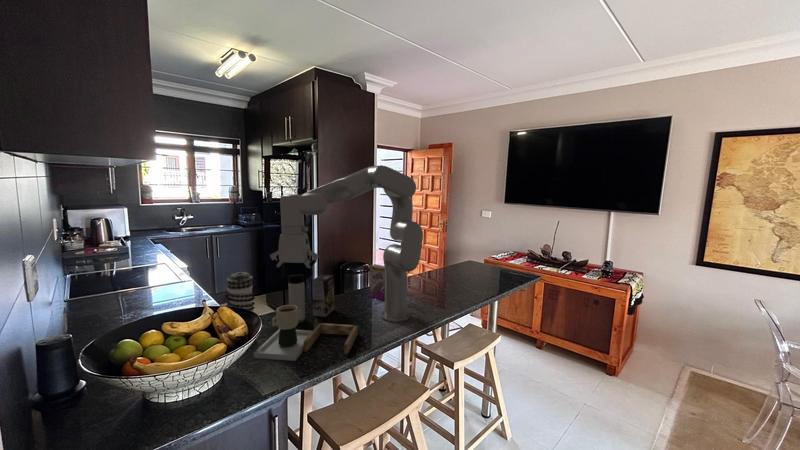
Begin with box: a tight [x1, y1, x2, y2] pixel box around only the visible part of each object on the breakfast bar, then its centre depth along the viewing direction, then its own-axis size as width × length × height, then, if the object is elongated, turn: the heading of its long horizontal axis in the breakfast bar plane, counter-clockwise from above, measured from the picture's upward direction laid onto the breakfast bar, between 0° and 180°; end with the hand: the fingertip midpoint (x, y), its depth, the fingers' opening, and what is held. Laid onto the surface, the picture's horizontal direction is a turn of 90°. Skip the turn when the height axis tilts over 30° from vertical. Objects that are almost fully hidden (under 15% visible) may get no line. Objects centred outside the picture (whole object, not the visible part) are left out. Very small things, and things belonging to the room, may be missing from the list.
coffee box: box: [312, 274, 335, 318], centre depth 144 cm, size 9×6×16 cm
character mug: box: [271, 304, 302, 346], centre depth 114 cm, size 11×7×13 cm, turn 136°
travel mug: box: [288, 273, 306, 324], centre depth 134 cm, size 6×7×20 cm
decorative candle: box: [225, 271, 256, 313], centre depth 115 cm, size 9×9×25 cm
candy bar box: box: [368, 263, 385, 302], centre depth 163 cm, size 11×5×16 cm, turn 58°
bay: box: [303, 322, 359, 356], centre depth 117 cm, size 15×15×4 cm
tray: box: [253, 328, 313, 362], centre depth 114 cm, size 14×18×2 cm
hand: (295, 277), depth 115 cm, fingers open, 9 cm apart
